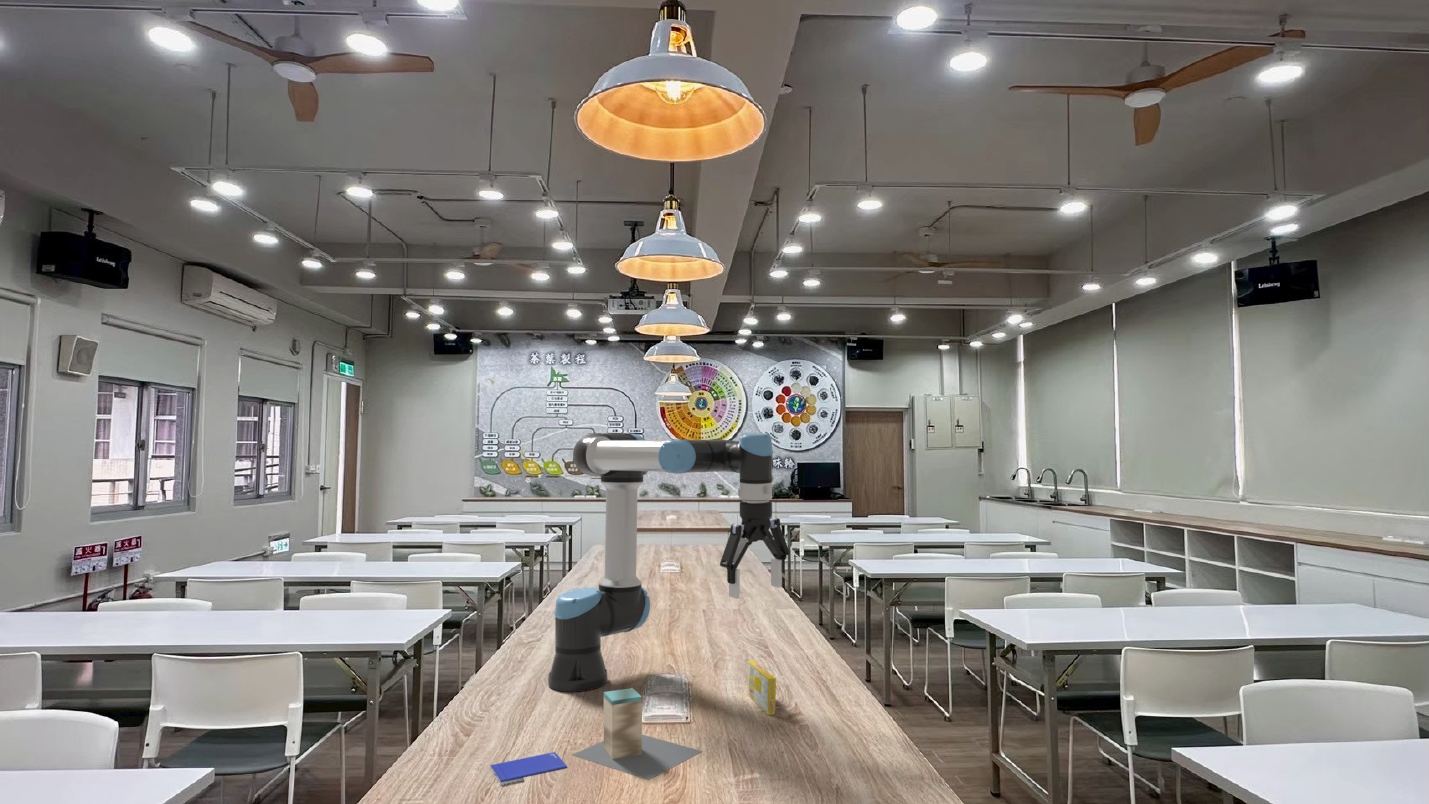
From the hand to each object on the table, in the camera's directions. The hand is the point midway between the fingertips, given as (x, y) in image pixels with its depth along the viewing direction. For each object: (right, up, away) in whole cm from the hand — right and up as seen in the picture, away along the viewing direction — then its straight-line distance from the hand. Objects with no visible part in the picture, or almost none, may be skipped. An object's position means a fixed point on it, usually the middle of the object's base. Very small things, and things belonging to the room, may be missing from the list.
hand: (755, 591), depth 178 cm
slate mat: (-25, -26, -27) cm, 45 cm away
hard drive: (-45, -26, -33) cm, 61 cm away
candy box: (+1, -28, +3) cm, 28 cm away
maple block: (-28, -25, -26) cm, 46 cm away
